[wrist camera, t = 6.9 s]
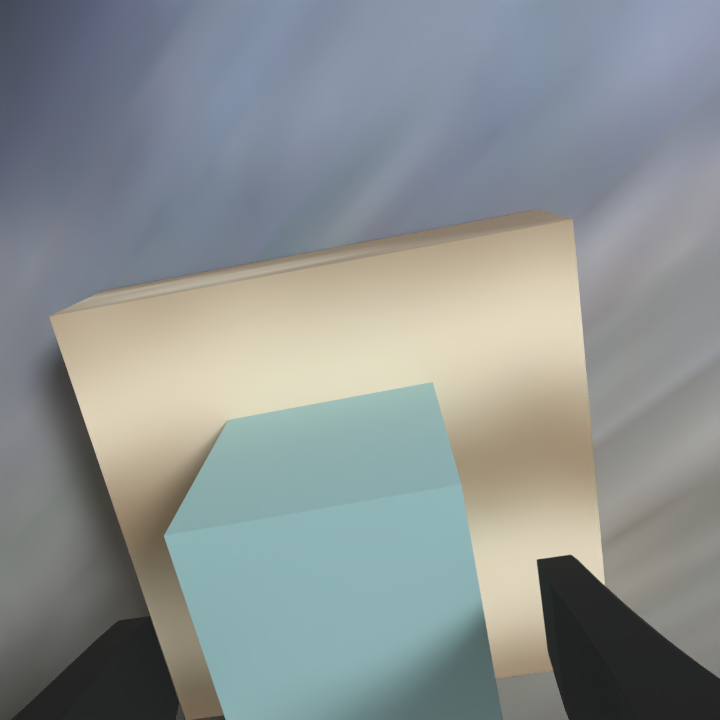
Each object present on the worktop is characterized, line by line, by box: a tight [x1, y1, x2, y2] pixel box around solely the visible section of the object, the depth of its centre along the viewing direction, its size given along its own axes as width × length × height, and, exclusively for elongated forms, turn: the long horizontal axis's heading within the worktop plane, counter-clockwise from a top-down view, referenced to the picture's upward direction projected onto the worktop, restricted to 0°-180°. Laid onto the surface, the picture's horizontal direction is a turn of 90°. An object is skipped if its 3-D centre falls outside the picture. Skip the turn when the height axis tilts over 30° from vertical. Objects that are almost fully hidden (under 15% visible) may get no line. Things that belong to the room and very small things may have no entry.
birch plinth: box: [49, 210, 605, 720], centre depth 17 cm, size 12×12×3 cm
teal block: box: [164, 382, 503, 720], centre depth 14 cm, size 5×5×5 cm
